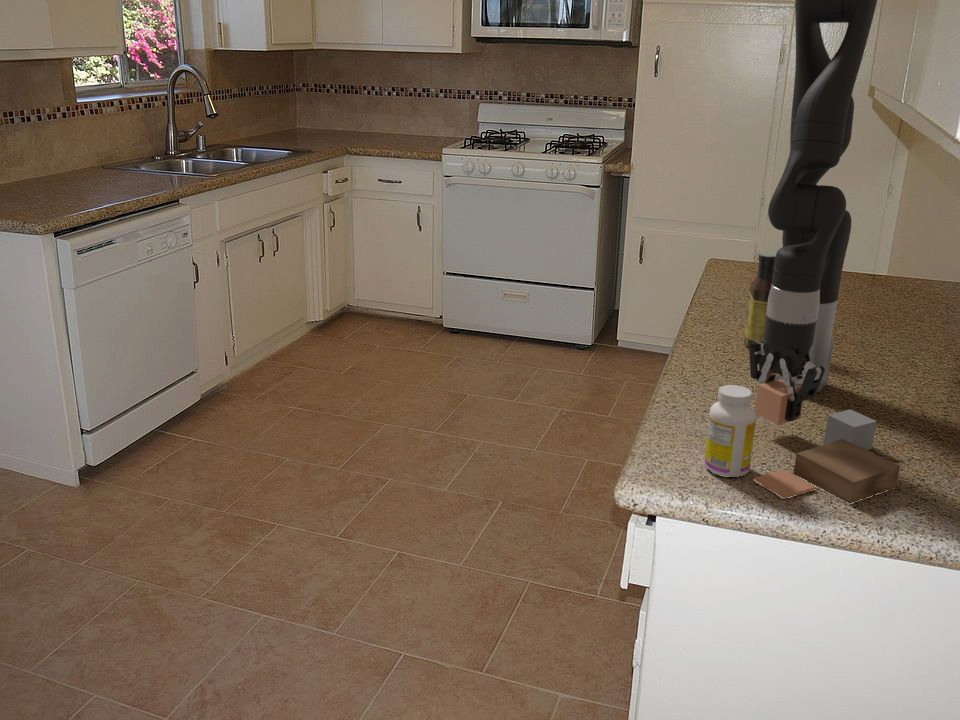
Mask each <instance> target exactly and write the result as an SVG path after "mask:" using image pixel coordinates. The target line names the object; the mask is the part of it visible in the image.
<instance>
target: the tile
mask: <svg viewBox="0 0 960 720" xmlns="http://www.w3.org/2000/svg"><path fill="white" fill-rule="evenodd" d="M754 479H755V480H756V481H757V482H759V483H761V484H762V485H763V486H765V487H766V488H768V489H770V490H772V491H773V492H775V493H777V494H778V495H780V496H781V497H783V498H787V497H790V496H794V495H798V494H801V493H804V492H807V491H810V490H813V489H816V487H814V486H813V485H811V484H809V483H807V482H805V481H804V480H802V479H800V478H798V477H797V476H795V475H793V473H791V472H789V471H788V470H786V469H779V470H776V471H773V472H770V473H769V472H768V473H765V474H763V475H759V476H755V477H753V480H754Z"/></svg>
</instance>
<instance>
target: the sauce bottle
mask: <svg viewBox="0 0 960 720" xmlns="http://www.w3.org/2000/svg"><path fill="white" fill-rule="evenodd" d="M776 253H777V252H774V251H763V252H759V254H758V258H757V259H758V269H757V274H756V275H757V276H756V277H755V278H754V279H753V281H752V282H751V283H750V287H749V289H748V290H749V292H748V299H747V310H746V317H745V318H746V320H745V327H744V341H743V342H744V345H745V346H746V347H747V348H749V344H750V343H754V342H758V341H764V338H763V334H764V326H765V319H766V311H767V303H768V297H769V293H770V290H771V285H772V279H773V271H774V263H775V257H776ZM764 342H765V341H764Z"/></svg>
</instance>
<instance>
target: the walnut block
mask: <svg viewBox="0 0 960 720" xmlns="http://www.w3.org/2000/svg"><path fill="white" fill-rule="evenodd" d="M795 455H796V456H795V462H794V466H793V467H794V468H793V473H792V474H795V475H797V476H799V477H801V478H803V479H805V480H807V481H808V482H810V483H812V484H814V485H816V486H818V487H820V488H822V489H824V490H825V491H827V492H829V493H831V494H833V495H835V496H836V497H839V498H840V499H842V500H844V501H846V502H848V503H852V502H855V501H858V500H860V499H865V498H867V497H870V496H872V495H875V494H877V493H881V492H884V491H886V490H890V489H893V488H897V484H898V480H899V479H898V478H899V474H900V468H901V465H899V464H896V463H895V462H892V461H890V460H889V459H886V458H884V457H882V456H880V455H877V454H875V453H873V452H871V451H870V450H865V449H863V448H860V447H858V446H856V445H854V444H852V443H850V442H848V441H845V440H843V439H841V440H838V441H834V442H831V443H828V444H825V443H824V444H823V445H818V446H817V447H813V448H809V449H806V450H803V451H800V452H797V453H796V454H795ZM893 490H894V489H893ZM890 491H891V490H890Z"/></svg>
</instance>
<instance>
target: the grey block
mask: <svg viewBox="0 0 960 720" xmlns="http://www.w3.org/2000/svg"><path fill="white" fill-rule="evenodd" d="M876 425H877V420H875V419H872V418H870V417H868V416H866V415H863V414H862V413H859V412H857V411H855V410H853V409H847V410H843V411H840V412H835V413H832V414H828V417H827V421H826V427H825V432H824V433H825V434H824V437H823V438H824V439H823V443H824V442H825V443H827V444H828V443H831V442H834V441H838V440H841V439H843V440H845V441H848V442H850V443H852V444H854V445H856V446H858V447H860V448H863V449H865V450H867V449H870V448H871V449H872V447H873V446H872V445H873V441H874V435H875V430H876ZM825 443H824V444H825ZM871 449H870V450H871ZM867 451H868V450H867Z"/></svg>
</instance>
